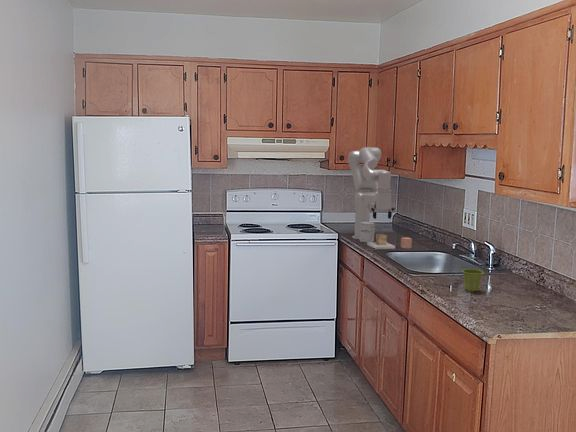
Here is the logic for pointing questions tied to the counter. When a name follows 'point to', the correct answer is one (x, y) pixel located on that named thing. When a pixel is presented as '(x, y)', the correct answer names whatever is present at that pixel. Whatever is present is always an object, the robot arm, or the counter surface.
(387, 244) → the baseplate
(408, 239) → the terracotta block
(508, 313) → the counter surface
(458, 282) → the counter surface
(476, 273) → the plant pot
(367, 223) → the supplement box
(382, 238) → the oak block
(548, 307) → the counter surface
